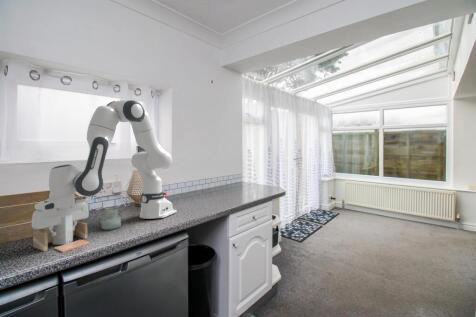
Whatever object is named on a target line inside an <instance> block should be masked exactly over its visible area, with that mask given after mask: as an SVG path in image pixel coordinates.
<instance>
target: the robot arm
mask: <svg viewBox="0 0 476 317" xmlns="http://www.w3.org/2000/svg"><path fill="white" fill-rule="evenodd" d="M128 122H129V124H130V125H131V128H132V132H133V135H134V138H135V139H134V140H135V142H136V145H137V146H138V147H139V148H141V149H143V151H138V152H135V153H134V154H133V155H132V156H131V164H132V166H133V168H135V169H136V171H137V172H138V173H139V175H140V178H141V186H142V187H141V188H142V189H141V190H142V193H141V208H140V214H139V218H140V219H164V218H167V217H169V216H170V215H173V214H176V213H177V209H174V208H173V203H172V202H171V201H170V200H168V199H167V198H166V197H165V196H167V195H168V192H166V191H164V192H163V189H162V188H163V181H162V180H163V179H162V178H161V177H160V176H158V175H157V173H156V171H157V170H159V171H161V170H166V169H170V167H172V165H173V161H174V160H173V156H172V154H171V153H170V152H168V151H167V150H165V149H164V148H163V147H162V145H161V144H160V143H159V141H158V139H157V136H156V132H155V129H154V125H153V121H152V119H151V117H150V115H149V113H148V112H147V111H146V110H145V109H144V107H143V105H142V104H141V103H140V102H139V101H137V100H135V99H134V100H132V99H129V100H128V99H124V100H123V99H121V100H114V101H111V102H109V103H107V104H106V105H99V106H98V107H97V108H95V111H94V113H93V114H92V116H91V118H90V120H89V123H88V127H87V131H86V141H87V143H88V145H89V146H88V147H89V152H88V157H87V161H86V163H85V167H84V169H81V168H78V167H76V166H74V165H72V164H61V165H57V166H55V167H52V168H51V169H50V171H49V174H48V175H49V177H48V187H49V190H50V191H49V195H48V198H47V199H46V200H43V201H41V202H38V203H35V204H34V209H35V210H34V211H33V213H32V217H31V228H32V229H34V230H36V229H42V228H46V227H47V229H48V230H49V232H50V236H51V237H53V236H56V231H53V230H52V229H53V226H55V225H59V224H61V217H63V216H68V215H72V221H73V231H74V230H75V226H76V224H77V221H80V220H85V219H88V218H89V216H90V213H89V212H90V211H89V207H88V206H89V200H87V199H85V198H81V199H76V197H75V196H76V195H75V194H76V193H78V194H79V195H81V196H82V197H92V196H95V195H97V194H99V192H101V190H102V189H103V187H104V179H103V168H104V163H105V160H106V155H107V152H108V149H109V148H110V145H111V144H112V141H113V139H114V136H115V133H116V130H117V126H118V124H119V123H128ZM155 170H156V171H155Z"/></svg>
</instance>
